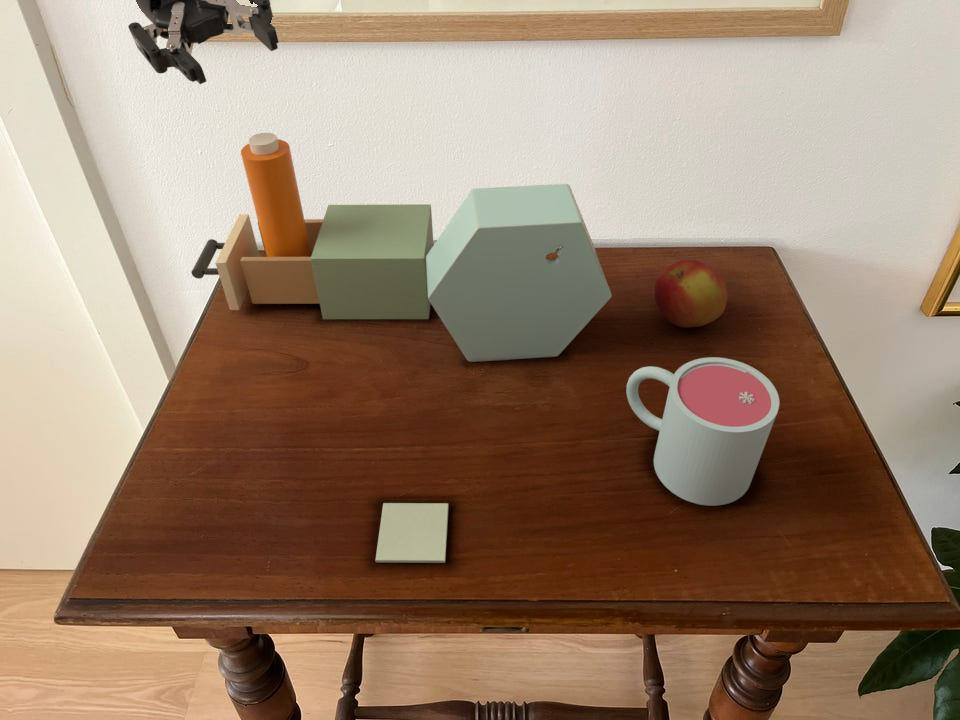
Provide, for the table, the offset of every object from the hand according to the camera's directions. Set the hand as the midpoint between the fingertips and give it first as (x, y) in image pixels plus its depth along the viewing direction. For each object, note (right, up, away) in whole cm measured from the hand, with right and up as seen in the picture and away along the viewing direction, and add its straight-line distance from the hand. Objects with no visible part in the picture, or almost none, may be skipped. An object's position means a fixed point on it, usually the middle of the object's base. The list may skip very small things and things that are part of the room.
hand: (238, 58), depth 75 cm
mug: (+45, -41, -4) cm, 61 cm away
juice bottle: (+2, -21, +15) cm, 26 cm away
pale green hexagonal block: (+29, -29, +9) cm, 42 cm away
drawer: (-1, -22, +16) cm, 27 cm away
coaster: (+19, -47, -11) cm, 52 cm away
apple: (+49, -27, +11) cm, 57 cm away
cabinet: (+13, -22, +16) cm, 30 cm away
